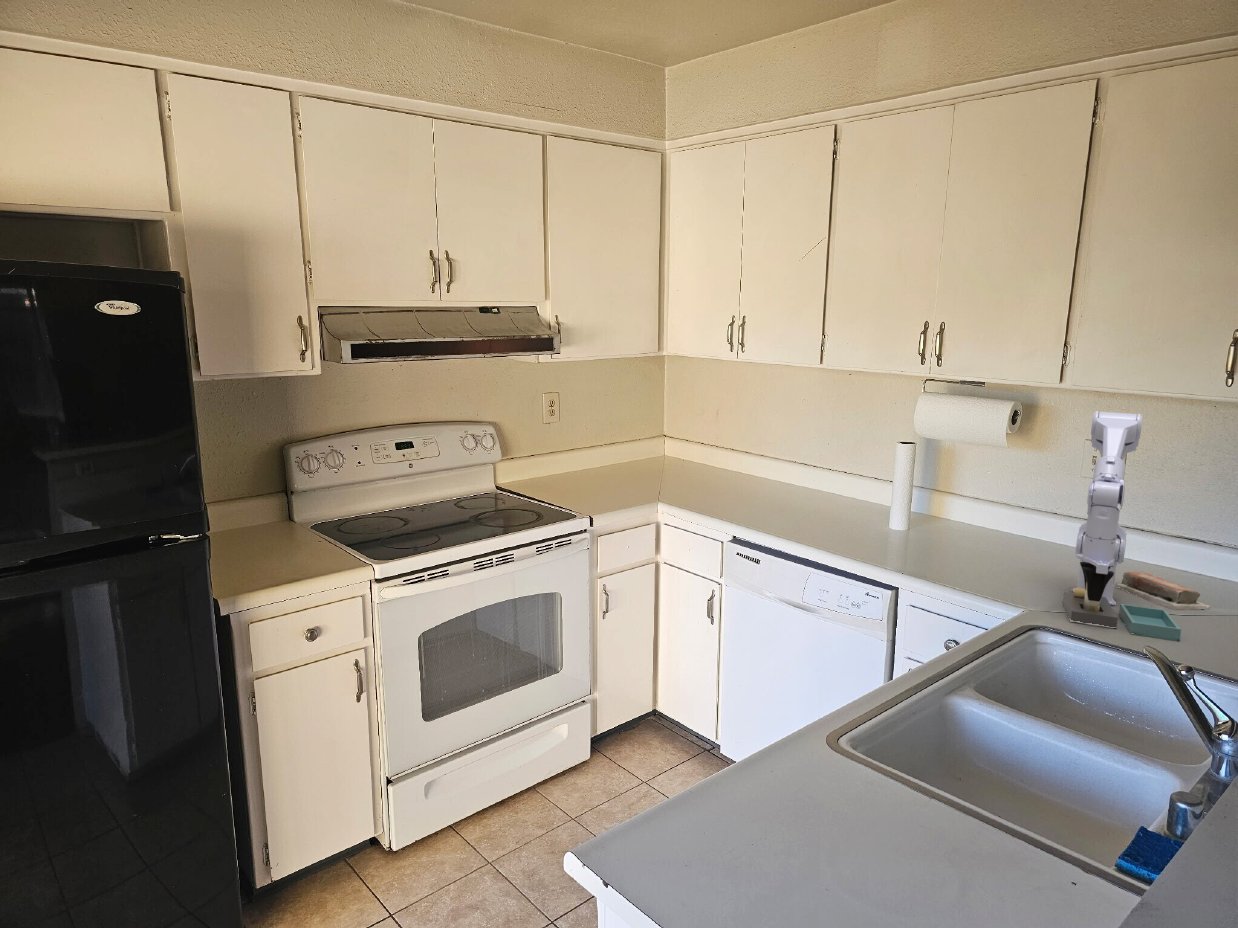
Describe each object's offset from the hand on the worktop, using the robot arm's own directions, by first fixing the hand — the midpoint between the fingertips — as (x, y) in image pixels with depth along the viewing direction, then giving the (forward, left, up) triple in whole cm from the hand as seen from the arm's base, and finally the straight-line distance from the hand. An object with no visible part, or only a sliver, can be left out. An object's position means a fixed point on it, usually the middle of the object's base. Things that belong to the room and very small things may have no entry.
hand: (1092, 598), depth 175 cm
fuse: (0, 0, -3) cm, 3 cm away
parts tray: (0, +11, -5) cm, 12 cm away
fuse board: (-3, 0, -5) cm, 5 cm away
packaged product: (-28, +18, -5) cm, 34 cm away
